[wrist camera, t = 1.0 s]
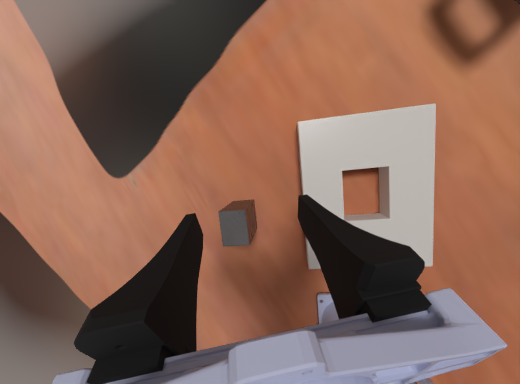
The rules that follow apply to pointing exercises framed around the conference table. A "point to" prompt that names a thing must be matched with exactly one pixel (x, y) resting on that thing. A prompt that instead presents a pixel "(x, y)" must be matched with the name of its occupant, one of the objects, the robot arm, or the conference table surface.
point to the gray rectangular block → (238, 223)
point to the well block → (390, 171)
